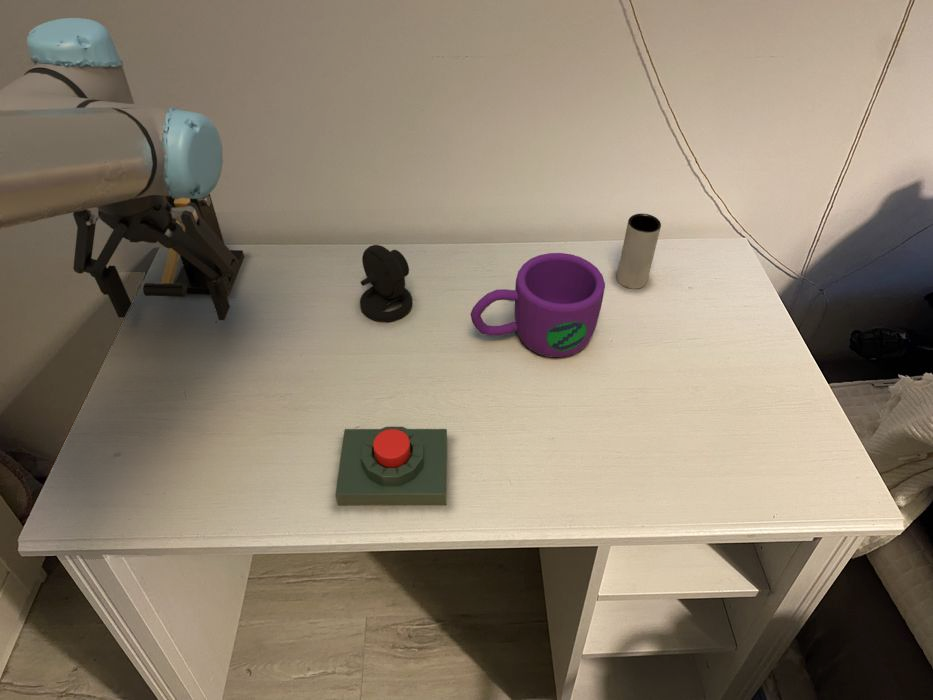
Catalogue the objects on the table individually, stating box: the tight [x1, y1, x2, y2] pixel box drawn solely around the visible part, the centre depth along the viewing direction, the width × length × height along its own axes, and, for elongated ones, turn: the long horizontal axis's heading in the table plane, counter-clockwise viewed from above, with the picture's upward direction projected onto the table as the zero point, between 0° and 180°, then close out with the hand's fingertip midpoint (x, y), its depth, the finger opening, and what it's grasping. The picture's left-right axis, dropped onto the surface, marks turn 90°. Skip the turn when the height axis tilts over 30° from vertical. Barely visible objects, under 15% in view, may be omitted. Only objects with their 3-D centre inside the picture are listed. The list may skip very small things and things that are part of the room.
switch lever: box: [142, 198, 190, 298], centre depth 94 cm, size 16×5×2 cm, turn 178°
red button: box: [373, 429, 410, 468], centre depth 79 cm, size 4×4×2 cm
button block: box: [335, 426, 448, 506], centre depth 80 cm, size 12×9×4 cm
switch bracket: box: [166, 193, 245, 296], centre depth 101 cm, size 9×8×15 cm
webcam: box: [359, 244, 413, 323], centre depth 98 cm, size 8×8×10 cm
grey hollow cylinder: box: [616, 213, 662, 290], centre depth 103 cm, size 4×4×10 cm
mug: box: [470, 252, 606, 358], centre depth 94 cm, size 17×11×10 cm, turn 100°
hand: (174, 312), depth 94 cm, fingers open, 12 cm apart
